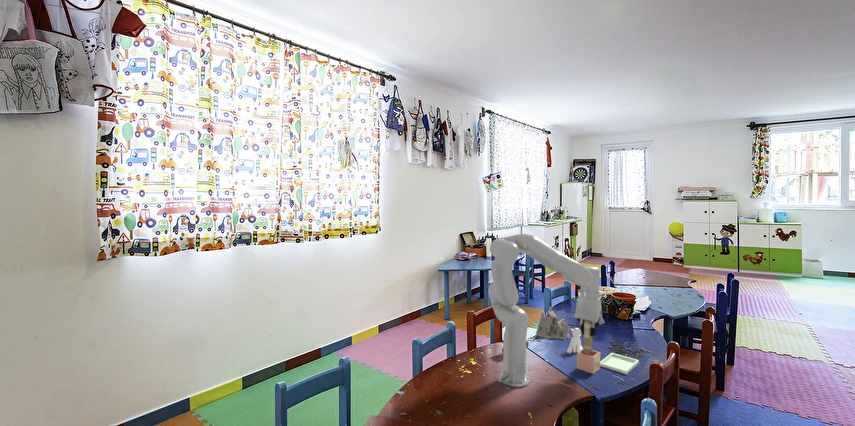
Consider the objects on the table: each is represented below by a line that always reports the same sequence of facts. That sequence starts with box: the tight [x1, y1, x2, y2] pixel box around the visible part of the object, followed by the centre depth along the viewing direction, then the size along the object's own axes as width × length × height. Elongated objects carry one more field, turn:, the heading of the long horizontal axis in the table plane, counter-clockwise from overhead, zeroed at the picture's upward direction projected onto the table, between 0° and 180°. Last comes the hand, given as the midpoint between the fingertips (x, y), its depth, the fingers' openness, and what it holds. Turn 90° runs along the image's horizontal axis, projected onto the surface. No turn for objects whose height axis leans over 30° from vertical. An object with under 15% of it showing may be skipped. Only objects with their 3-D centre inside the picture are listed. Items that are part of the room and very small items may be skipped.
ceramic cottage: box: [535, 306, 572, 340], centre depth 214 cm, size 16×16×15 cm
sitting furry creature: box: [565, 327, 583, 354], centre depth 191 cm, size 10×9×12 cm
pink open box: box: [576, 349, 601, 375], centre depth 172 cm, size 7×7×8 cm
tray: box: [600, 352, 640, 376], centre depth 176 cm, size 16×12×2 cm
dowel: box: [582, 320, 593, 355], centre depth 171 cm, size 4×4×15 cm
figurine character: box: [499, 339, 529, 353], centre depth 191 cm, size 7×8×15 cm
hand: (588, 334), depth 171 cm, fingers closed on dowel, 3 cm apart
